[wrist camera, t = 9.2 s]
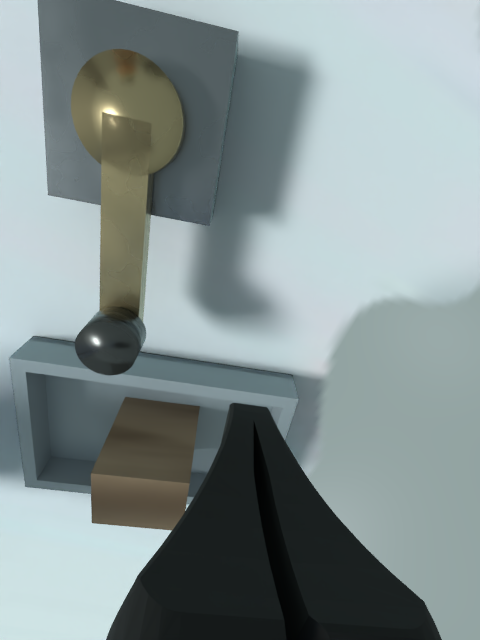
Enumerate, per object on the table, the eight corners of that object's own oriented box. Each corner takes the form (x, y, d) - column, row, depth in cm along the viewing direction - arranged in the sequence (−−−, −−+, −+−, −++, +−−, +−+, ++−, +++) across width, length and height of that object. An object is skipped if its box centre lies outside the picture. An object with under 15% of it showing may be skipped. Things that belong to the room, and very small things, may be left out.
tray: (258, 482, 27) (260, 511, 25) (43, 457, 25) (25, 486, 23) (292, 374, 22) (298, 399, 20) (33, 336, 21) (9, 357, 18)
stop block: (193, 448, 24) (181, 531, 19) (123, 440, 24) (91, 523, 19) (199, 406, 23) (189, 483, 17) (125, 396, 22) (90, 473, 17)
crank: (81, 44, 12) (41, 15, 10) (191, 71, 12) (181, 48, 10) (84, 337, 17) (59, 368, 15) (161, 349, 18) (150, 381, 15)
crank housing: (212, 215, 18) (209, 225, 15) (-73, 159, 16) (-133, 160, 14) (237, 54, 15) (238, 31, 12) (-109, -31, 13) (-196, -78, 11)
